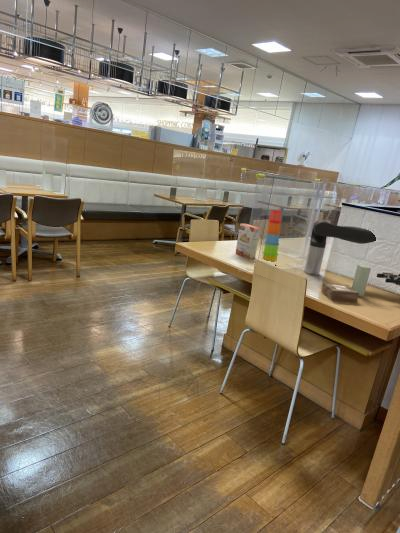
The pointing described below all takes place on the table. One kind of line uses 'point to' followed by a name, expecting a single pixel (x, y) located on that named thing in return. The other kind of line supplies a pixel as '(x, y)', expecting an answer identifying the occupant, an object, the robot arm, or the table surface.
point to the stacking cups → (272, 236)
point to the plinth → (340, 292)
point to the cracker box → (247, 240)
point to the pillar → (361, 279)
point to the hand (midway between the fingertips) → (381, 277)
